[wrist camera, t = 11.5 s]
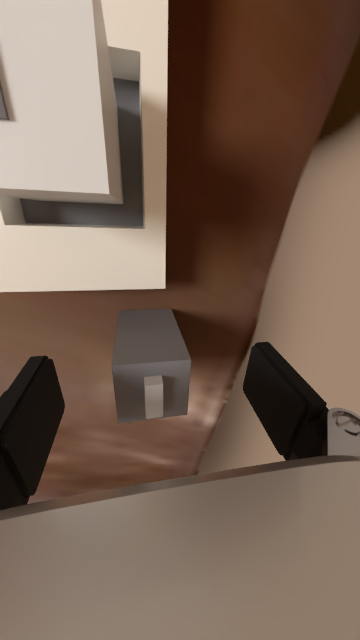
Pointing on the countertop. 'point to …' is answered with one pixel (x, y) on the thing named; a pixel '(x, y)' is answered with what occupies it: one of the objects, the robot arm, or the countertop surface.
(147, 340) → the cable plug
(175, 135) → the countertop surface
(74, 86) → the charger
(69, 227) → the power strip
